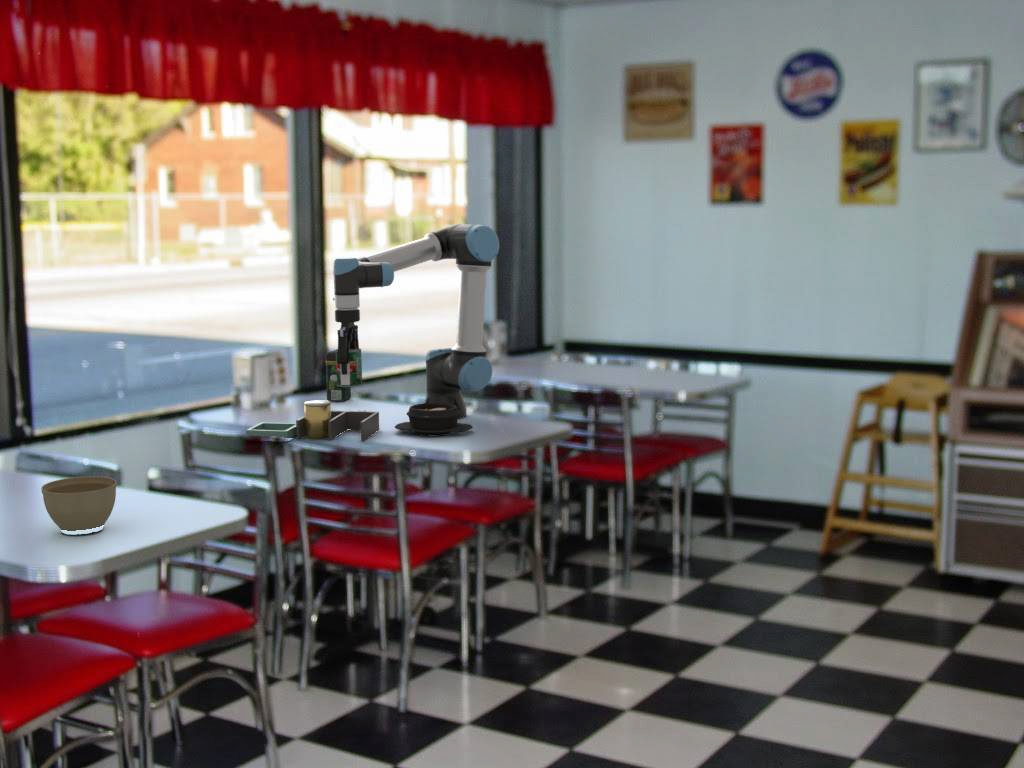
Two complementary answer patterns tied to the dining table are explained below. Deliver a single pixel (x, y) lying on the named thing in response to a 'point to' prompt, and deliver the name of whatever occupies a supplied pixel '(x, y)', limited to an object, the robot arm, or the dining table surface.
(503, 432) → the dining table surface
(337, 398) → the coffee jar
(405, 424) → the casserole
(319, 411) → the ochre can
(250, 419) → the dining table surface
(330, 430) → the clip rack
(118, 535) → the dining table surface
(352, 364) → the canned tomato
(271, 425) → the tray
